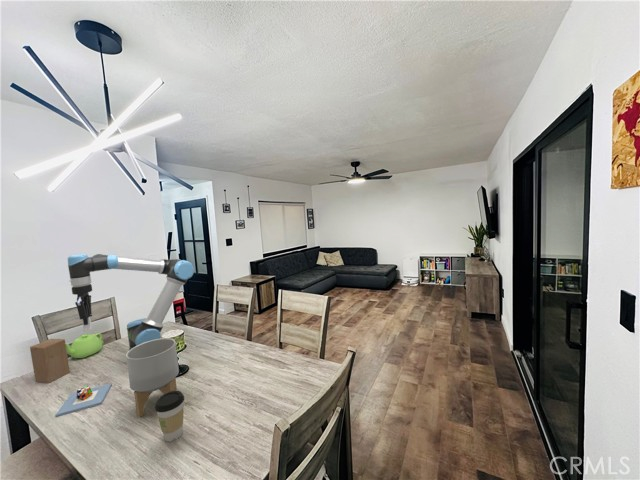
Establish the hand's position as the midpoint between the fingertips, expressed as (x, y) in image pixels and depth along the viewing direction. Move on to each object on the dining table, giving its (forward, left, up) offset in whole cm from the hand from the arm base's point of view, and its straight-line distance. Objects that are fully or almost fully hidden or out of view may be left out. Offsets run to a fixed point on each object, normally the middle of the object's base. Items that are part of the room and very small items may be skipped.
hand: (88, 330), depth 134 cm
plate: (0, +13, -29) cm, 32 cm away
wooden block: (+25, -22, -30) cm, 45 cm away
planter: (-32, +33, -30) cm, 55 cm away
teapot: (+18, -45, -30) cm, 57 cm away
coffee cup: (-40, +58, -30) cm, 76 cm away
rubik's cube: (0, +13, -28) cm, 31 cm away
